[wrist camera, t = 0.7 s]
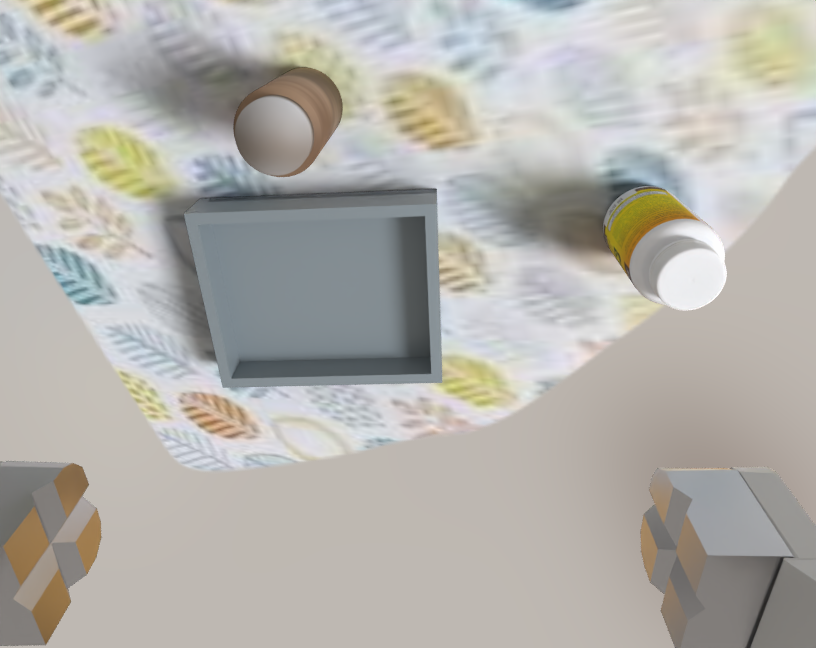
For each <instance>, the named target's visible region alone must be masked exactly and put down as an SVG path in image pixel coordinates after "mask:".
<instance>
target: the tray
mask: <svg viewBox="0 0 816 648" xmlns="http://www.w3.org/2000/svg"><path fill="white" fill-rule="evenodd" d="M184 217H185V222H186V226H187V231H188V235H189V240H190V244H191V248H192V253H193V257H194V262H195V266H196V271H197V275H198V279H199V284H200V288H201V293H202V297H203V302H204V306H205V311H206V315H207V319H208V324H209V328H210V333H211V337H212V342H213V346H214V351H215V355H216V359H217V364H218V368H219V373H220V377H221V382H222V386H223V388H226V387H270V386H314V385H358V384H402V383H442V352H441V320H440V287H439V254H438V221H437V189H422V190H397V191H372V192H347V193H322V194H297V195H272V196H247V197H222V198H200V199H199V200H198V201H197V202H196V203H195V204H194V205H193V206H192V207H191V208H189V209H188V210H187V211H186V212H185V213H184Z"/></svg>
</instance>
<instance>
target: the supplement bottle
mask: <svg viewBox="0 0 816 648" xmlns="http://www.w3.org/2000/svg"><path fill="white" fill-rule="evenodd" d="M603 234H604V238H605V241H606V244H607V245H608V247H609V249H610V250H611V252H612V253H613V255H614V256H615V258H616V259H617V261H618V262H619V264H620V265H621V267H622V268H623V270H624V271H625V273H626V274H627V276H628V277H629V279H630V280H631V282H632V283H633V285H634V286H635V288H636V289H637V290H638V291H639V292H640V293H641V294H642V295H643V296H644V297H645V298H647V299H649V300H650V301H653V302H655V303H659V304H664V305H667V306H669V307H671V308H674V309H677V310H694V309H697V308H700V307H702V306H705V305H706V304H708V303H710V302H711V301H712V300H714V299H715V298H716V297H717V296H718V294H719V293H720V292H721V290H722V288H723V286H724V284H725V281H726V275H727V274H726V266H725V264H724V258H725V253H724V247H723V244H722V241H721V239H720V237H719V236H718V234H717V233H716V232H715V231H714V230H713V229H712V228H711V227H710V226H709V225H708V224H707V223H706V222H704V221H703V220H702V219H701V218H700V217H698V216H697V215H696V214H695V213H694V212H693V211H692V210H691V209H689V208H688V207H687V206H686V205H685V204H684V203H682V202H681V201H680V200H679V199H678V198H677V197H675V196H674V195H673V194H672V193H670V192H669V191H667V190H665V189H663V188H659V187H655V186H642V187H637V188H634V189H631V190H629V191H627V192H625V193H624V194H622V195H621V196H620V197H618V198H617V199H616V200H615V201H614V202H613V204H612V205H611V206H610V208H609V209H608V211H607V213H606V216H605V219H604V223H603Z"/></svg>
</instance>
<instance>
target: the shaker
mask: <svg viewBox="0 0 816 648" xmlns="http://www.w3.org/2000/svg"><path fill="white" fill-rule="evenodd" d="M341 116H342V99H341V96H340V93H339V90H338V89H337V87H336V85H335V84H334V82H333V81H332V80H331V79H330V78H329V77H328V76H326V75H325V74H324V73H322V72H320V71H318V70H316V69H312V68H303V67H302V68H296V69H292V70H290V71H288V72H286V73H285V74H283V75H281V76H279V77H278V78H276V79H274V80H273V81H271V82H269V83H267V84H266V85H264V86H262V87H261V88H259V89H257V90H255V91H254V92H252V93H251V94H249V95H248V96H247V97H246V98H245V99H244V100H243V101H242V102H241V104H240V105H239V107H238V109H237V111H236V114H235V118H234V136H235V141H236V144H237V147H238V150H239V152H240V154H241V155H242V157H243V158H244V159H245V161H246V162H247V163H248V164H249V165H250V166H252V167H253V168H254V169H256V170H258V171H259V172H262V173H264V174H267V175H271V176H276V177H289V176H293V175H296V174H299V173H301V172H302V171H304V170H305V169H307V168H308V167H309V166H310V165H311V164H312V163H313V161H314V160H315V159H316V157H317V156H318V154H319V153H320V151H321V150H322V148H323V147H324V146H325V144H326V143H327V141H328V140H329V138H330V137H331V135H332V134H333V132H334V131H335V130H336V128H337V127H338V125H339V123H340V120H341Z"/></svg>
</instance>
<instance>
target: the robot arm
mask: <svg viewBox="0 0 816 648" xmlns="http://www.w3.org/2000/svg"><path fill="white" fill-rule="evenodd" d="M88 486H89V483H88V480H87V478H86V475H85V473H84V470H83V468H82V467H81V466H79V465H77V464H74V463H56V462H24V461H6V462H1V461H0V646H9V645H10V646H15V645H16V646H18V645H46V644H47V642H48V640H49V639H50V637H51V635H52V634H53V632H54V630H55V629H56V627H57V625H58V624H59V621H60V620H61V618H62V617H63V615H64V613H65V611H66V610H67V608H68V606H69V605H70V603H71V599H70V595H69V590H68V588H69V587H70V586H72V585H73V584H75V583H76V582H77V581H79V580H80V579H82V578H83V577H84V576H86V575H87V574H88V572H89V570H90V568H91V566H92V564H93V563H94V561H95V559H96V557H97V552H98V549H99V545H100V540H101V521H100V517H99V514H98V511H97V508H96V507H95V506H94V505H92V504H91V503H90V502H89V501H88V500H86V499H85V498H84V497H83V494H84V493H85V491H86V489H87V487H88ZM649 491H650V494H651V496H652V498H653V500H654V503H655V504H654V505H653V506H652V507H651V508H650V509H649V510H648V511H647V512H645V513H644V515H643V520H642V526H641V532H640V534H641V553H642V557H643V562H644V567H645V569H646V572H647V575H648V578H649V581H650V583H651V584H653V585H654V586H655V587H656V588H657V589H659V590H660V591H661V592H662V593H663V594H665V595H664V600H663V604H662V608H661V613H662V615H663V618H664V620H665V623H666V625H667V628H668V631H669V633H670V636H671V639H672V641H673V644H674V646H675V648H816V525H815V524H814V522H813V521H812V520H811V518H810V517H809V515H808V514H807V513H806V511H805V510H804V509H803V507H802V506H801V505H800V503H799V502H798V500H797V499H796V498H795V496H794V495H793V494H792V492H791V491H790V490H789V488H788V487H787V485H786V484H785V483H784V481H783V480H782V479H781V477H780V476H779V475H778V473H777V472H776V471H774V470H772V469H770V468H769V467H731V468H730V469H728V468H657V469H656V471H655V472H654V474H653V476H652V479H651V483H650V487H649Z"/></svg>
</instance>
